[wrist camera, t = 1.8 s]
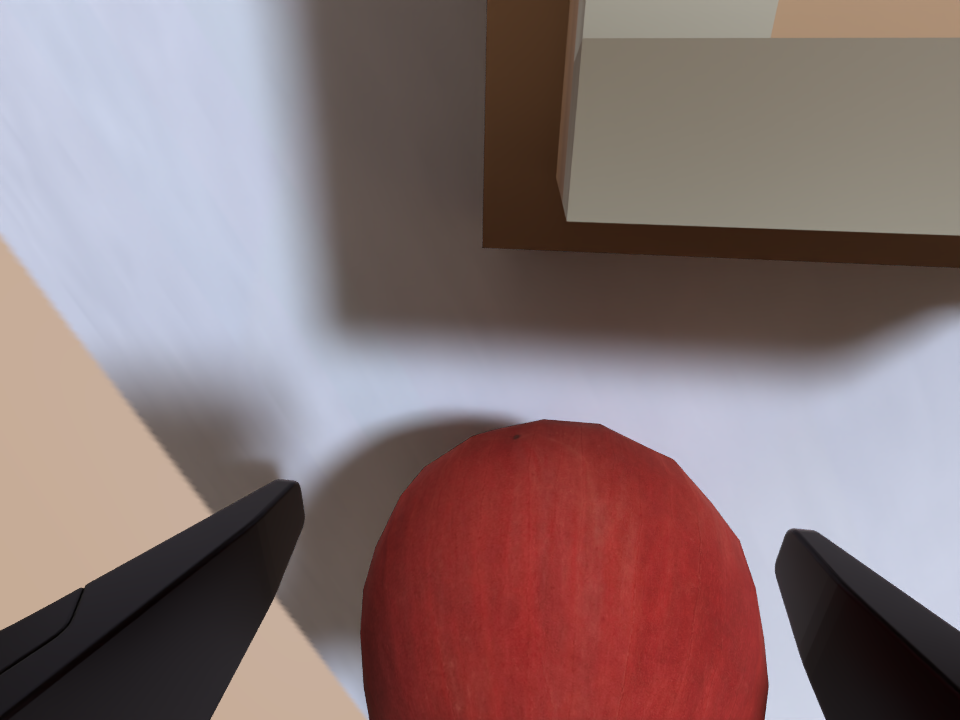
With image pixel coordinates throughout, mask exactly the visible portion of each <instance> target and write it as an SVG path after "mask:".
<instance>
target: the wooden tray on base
mask: <svg viewBox="0 0 960 720" xmlns="http://www.w3.org/2000/svg"><path fill="white" fill-rule="evenodd" d="M482 248H500V249H524V250H548V251H571V252H595V253H619V254H643V255H666V256H690V257H714V258H738V259H761V260H785V261H809V262H833V263H856V264H880V265H904V266H928V267H951V268H960V0H487V32H486V85H485V137H484V189H483V241H482Z"/></svg>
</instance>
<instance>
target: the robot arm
mask: <svg viewBox="0 0 960 720" xmlns="http://www.w3.org/2000/svg"><path fill="white" fill-rule="evenodd" d="M304 520H305V512H304V506H303V500H302V493H301V488H300V485H299V483H298V482H296V481H293V480H282V479H278V480H275V481H273V482H271V483H269V484H267V485H266V486H264V487H262V488H260V489H258V490H257V491H255V492H253V493H251V494H249V495H248V496H246V497H244V498H242V499H240V500H238V501H237V502H235V503H233V504H231V505H229V506H228V507H226V508H224V509H222V510H220V511H219V512H217V513H215V514H213V515H211V516H210V517H208V518H206V519H204V520H202V521H201V522H199V523H197V524H195V525H193V526H192V527H190V528H188V529H186V530H185V531H183V532H181V533H179V534H177V535H175V536H173V537H172V538H170V539H168V540H166V541H164V542H163V543H161V544H159V545H157V546H155V547H153V548H152V549H150V550H148V551H147V552H144V553H143V554H141V555H139V556H137V557H135V558H134V559H132V560H130V561H128V562H126V563H125V564H123V565H121V566H119V567H117V568H115V569H114V570H112V571H110V572H108V573H107V574H105V575H103V576H101V577H99V578H97V579H96V580H94V581H92V582H90V583H88V584H87V585H86V586H85V588H79V589H77V590H75V591H74V592H72V593H70V594H68V595H66V596H65V597H63V598H61V599H59V600H58V601H56V602H54V603H52V604H50V605H48V606H46V607H45V608H43V609H41V610H39V611H37V612H35V613H33V614H31V615H30V616H28V617H26V618H24V619H22V620H20V621H18V622H17V623H15V624H13V625H11V626H9V627H7V628H5V629H3V630H1V631H0V720H210V719H211V717H212V715H213V713H214V711H215V710H216V708H217V706H218V704H219V702H220V700H221V698H222V696H223V694H224V692H225V691H226V689H227V687H228V685H229V683H230V681H231V679H232V677H233V675H234V674H235V672H236V670H237V668H238V666H239V664H240V662H241V660H242V658H243V656H244V655H245V653H246V651H247V649H248V647H249V645H250V643H251V641H252V640H253V638H254V636H255V634H256V632H257V630H258V628H259V626H260V624H261V622H262V620H263V619H264V617H265V615H266V613H267V611H268V609H269V607H270V605H271V603H272V601H273V599H274V597H275V594H276V592H277V590H278V587H279V585H280V582H281V580H282V578H283V575H284V573H285V570H286V568H287V565H288V563H289V560H290V558H291V555H292V553H293V550H294V548H295V545H296V543H297V540H298V538H299V535H300V533H301V530H302V528H303V525H304ZM775 574H776V579H777V582H778V585H779V589H780V592H781V595H782V598H783V602H784V605H785V608H786V612H787V615H788V618H789V621H790V625H791V628H792V631H793V635H794V638H795V641H796V644H797V648H798V651H799V654H800V657H801V660H802V663H803V666H804V668H805V671H806V673H807V676H808V678H809V681H810V683H811V686H812V688H813V690H814V693H815V695H816V698H817V700H818V702H819V705H820V707H821V709H822V712H823V714H824V717H825V719H826V720H960V631H958V630H957V629H956V628H954V627H953V626H951V625H950V624H948V623H947V622H946V621H944V620H943V619H941V618H940V617H938V616H937V615H936V614H934V613H933V612H931V611H930V610H928V609H927V608H926V607H924V606H923V605H921V604H920V603H918V602H917V601H916V600H914V599H913V598H911V597H910V596H908V595H907V594H906V593H904V592H903V591H901V590H900V589H898V588H897V587H896V586H894V585H893V584H891V583H890V582H888V581H887V580H886V579H884V578H883V577H881V576H880V575H878V574H877V573H876V572H874V571H873V570H871V569H870V568H868V567H867V566H865V565H864V564H863V563H861V562H860V561H858V560H857V559H855V558H854V557H853V556H851V555H850V554H848V553H847V552H845V551H844V550H843V549H841V548H840V547H838V546H837V545H835V544H834V543H833V542H831V541H830V540H828V539H827V538H825V537H824V536H823V535H821V534H820V533H818V532H816V531H813V530H805V529H795V528H794V529H790V530H788V531H787V532H786V534H785V537H784V540H783V542H782V545H781V548H780V551H779V554H778V557H777V560H776V563H775Z"/></svg>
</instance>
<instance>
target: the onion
mask: <svg viewBox="0 0 960 720" xmlns="http://www.w3.org/2000/svg"><path fill="white" fill-rule="evenodd" d="M360 635H361V651H362V667H363V683H364V691H365V697H366V703H367V708H368V714H369V720H765V712H766V703H767V695H768V687H769V685H768V675H767V664H766V654H765V644H764V636H763V630H762V624H761V618H760V612H759V606H758V600H757V594H756V588H755V585H754V582H753V579H752V576H751V573H750V570H749V567H748V564H747V561H746V558H745V555H744V552H743V549H742V546H741V543H740V540H739V539H738V538H737V536H736V535H735V534H734V532H733V531H732V530H731V528H730V527H729V526H728V524H727V523H726V522H725V520H724V519H723V518H722V516H721V515H720V514H719V512H718V511H717V510H716V508H715V507H714V506H713V504H712V503H711V502H710V501H709V499H708V498H707V497H706V496H705V495H704V494H703V493H702V491H701V490H700V489H699V488H698V487H697V486H696V485H695V483H694V482H693V481H692V480H691V479H690V478H689V477H688V475H687V474H686V473H685V472H684V471H683V470H682V469H681V467H680V466H679V465H678V464H677V463H676V462H675V461H674V460H673V459H671V458H669V457H667V456H665V455H663V454H660V453H658V452H656V451H654V450H652V449H650V448H648V447H645V446H643V445H641V444H639V443H637V442H635V441H633V440H631V439H629V438H627V437H625V436H623V435H621V434H619V433H617V432H615V431H613V430H611V429H609V428H607V427H605V426H603V425H601V424H595V423H582V422H570V421H558V420H546V419H543V420H538V421H534V422H529V423H524V424H519V425H515V426H510V427H505V428H500V429H495V430H491V431H488V432H485V433H481V434H478V435H475V436H472V437H470V438H469V439H467V440H466V441H464V442H463V443H461V444H460V445H458V446H456V447H455V448H453V449H452V450H450V451H449V452H447V453H446V454H444V455H443V456H441V457H439V458H438V459H436V460H435V461H433V462H432V463H430V464H429V465H427V466H425V467H424V468H423V469H422V471H421V472H420V473H419V474H418V475H417V477H416V478H415V479H414V480H413V481H412V483H411V484H410V485H409V486H408V487H407V489H406V490H405V491H404V492H403V493H402V495H401V496H400V498H399V500H398V502H397V504H396V506H395V508H394V510H393V512H392V514H391V516H390V519H389V521H388V523H387V525H386V527H385V529H384V531H383V533H382V535H381V537H380V539H379V541H378V543H377V545H376V547H375V551H374V554H373V558H372V561H371V565H370V568H369V572H368V575H367V578H366V582H365V585H364V589H363V602H362V616H361V631H360Z"/></svg>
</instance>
